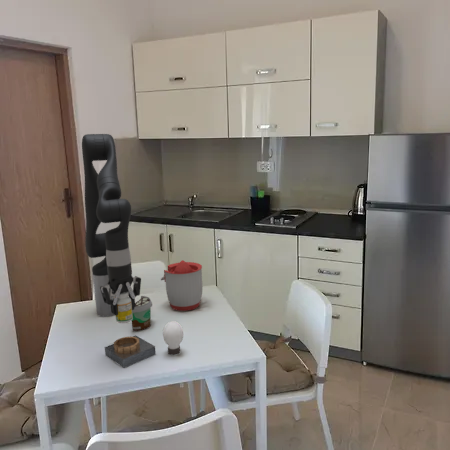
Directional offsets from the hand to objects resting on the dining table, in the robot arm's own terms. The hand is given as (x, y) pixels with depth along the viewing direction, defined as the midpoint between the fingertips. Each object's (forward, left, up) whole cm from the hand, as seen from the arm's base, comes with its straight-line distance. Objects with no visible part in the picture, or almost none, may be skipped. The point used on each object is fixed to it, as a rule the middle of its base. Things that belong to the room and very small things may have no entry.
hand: (123, 311), depth 152 cm
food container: (-16, +17, -16) cm, 28 cm away
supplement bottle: (0, 0, -3) cm, 3 cm away
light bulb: (+10, +12, -16) cm, 22 cm away
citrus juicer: (-21, +39, -16) cm, 47 cm away
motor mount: (0, +1, -16) cm, 16 cm away
